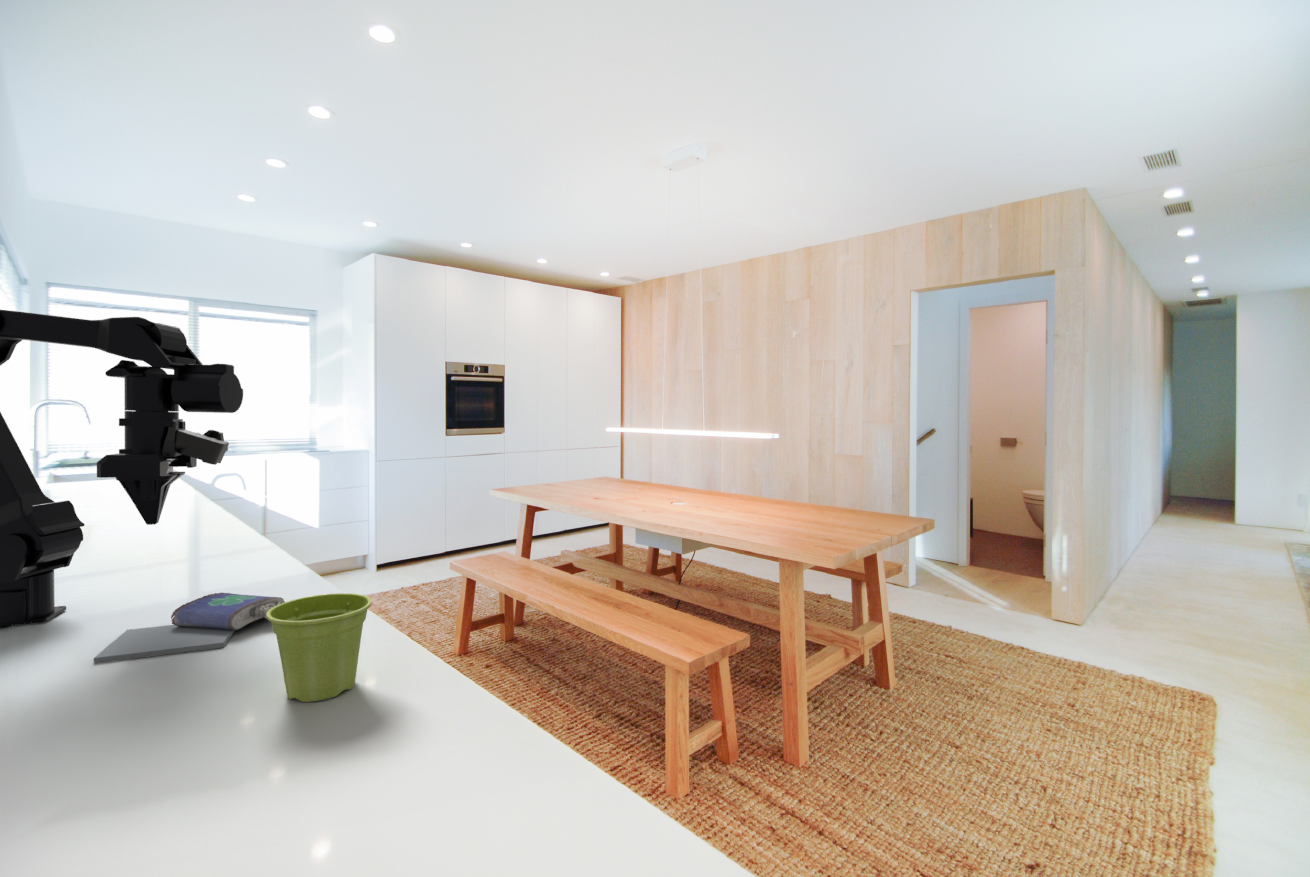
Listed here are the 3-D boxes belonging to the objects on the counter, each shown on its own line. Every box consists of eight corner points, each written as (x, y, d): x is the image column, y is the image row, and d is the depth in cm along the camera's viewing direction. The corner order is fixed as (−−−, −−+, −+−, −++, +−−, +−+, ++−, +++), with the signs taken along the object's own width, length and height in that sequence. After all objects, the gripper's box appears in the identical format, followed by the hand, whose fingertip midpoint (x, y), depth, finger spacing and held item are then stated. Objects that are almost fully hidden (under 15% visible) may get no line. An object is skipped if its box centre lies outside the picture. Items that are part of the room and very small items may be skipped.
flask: (169, 629, 76) (244, 633, 75) (169, 606, 76) (244, 610, 75) (230, 608, 85) (298, 612, 84) (230, 587, 85) (298, 591, 84)
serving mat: (127, 634, 76) (127, 629, 76) (240, 622, 81) (240, 617, 81) (93, 663, 67) (93, 658, 67) (223, 647, 72) (223, 642, 72)
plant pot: (260, 720, 55) (260, 626, 54) (271, 680, 63) (271, 599, 63) (373, 699, 59) (373, 612, 59) (369, 665, 67) (369, 588, 67)
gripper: (206, 412, 77) (206, 532, 78) (236, 413, 94) (236, 512, 94) (94, 410, 72) (95, 537, 73) (146, 411, 89) (147, 515, 90)
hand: (152, 524), depth 83 cm, fingers closed
